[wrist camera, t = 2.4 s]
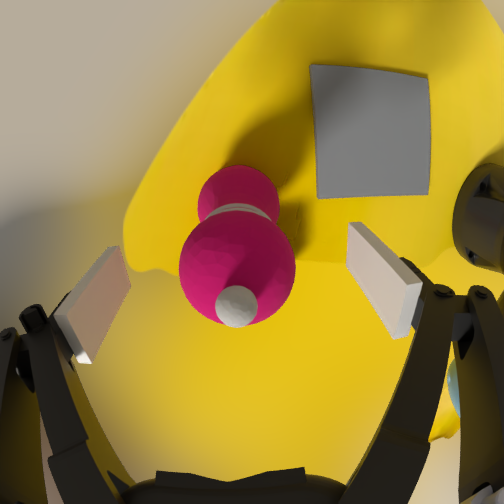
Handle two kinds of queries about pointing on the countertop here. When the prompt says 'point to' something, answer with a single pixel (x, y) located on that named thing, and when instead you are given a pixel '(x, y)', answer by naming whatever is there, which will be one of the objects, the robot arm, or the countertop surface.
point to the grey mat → (370, 132)
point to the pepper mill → (237, 250)
